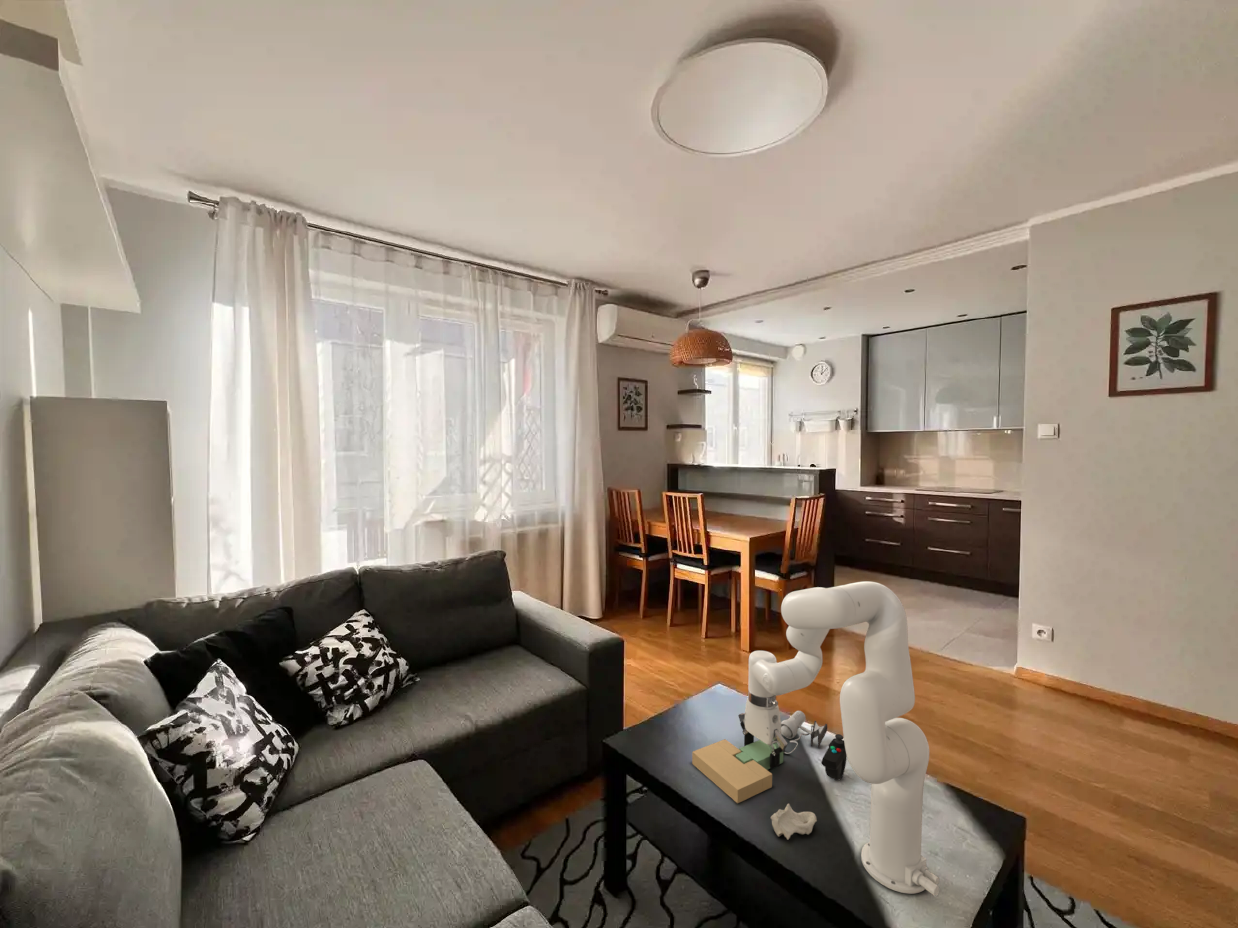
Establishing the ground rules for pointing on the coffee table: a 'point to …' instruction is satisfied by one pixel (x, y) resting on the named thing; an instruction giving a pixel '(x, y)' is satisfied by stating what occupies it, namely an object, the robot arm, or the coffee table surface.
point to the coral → (792, 822)
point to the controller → (835, 758)
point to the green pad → (757, 754)
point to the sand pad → (731, 771)
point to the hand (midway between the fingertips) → (761, 756)
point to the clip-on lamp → (795, 722)
